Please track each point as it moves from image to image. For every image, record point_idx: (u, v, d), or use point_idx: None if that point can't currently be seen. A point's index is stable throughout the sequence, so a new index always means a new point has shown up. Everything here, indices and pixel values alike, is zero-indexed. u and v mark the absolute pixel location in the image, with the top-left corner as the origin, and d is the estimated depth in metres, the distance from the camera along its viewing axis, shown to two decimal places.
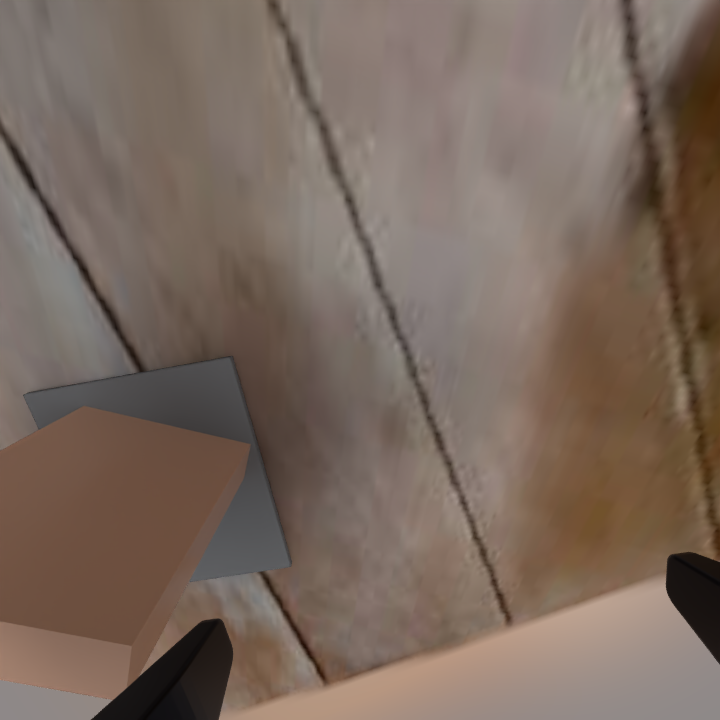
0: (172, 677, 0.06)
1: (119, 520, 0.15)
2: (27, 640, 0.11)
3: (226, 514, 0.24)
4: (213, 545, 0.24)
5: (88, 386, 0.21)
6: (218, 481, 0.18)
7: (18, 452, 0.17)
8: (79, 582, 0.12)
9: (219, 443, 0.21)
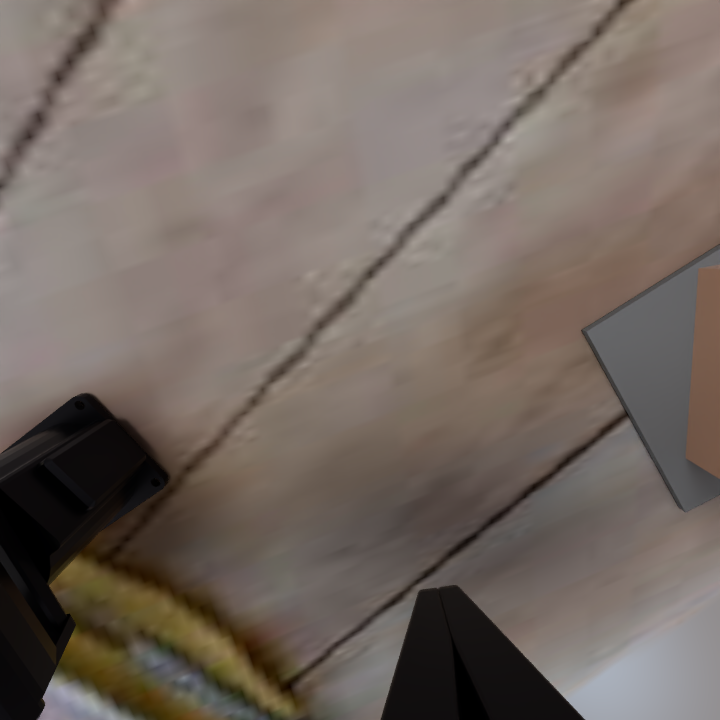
0: (445, 641, 0.06)
1: None
2: None
3: None
4: None
5: (660, 458, 0.19)
6: None
7: None
8: None
9: (708, 305, 0.17)
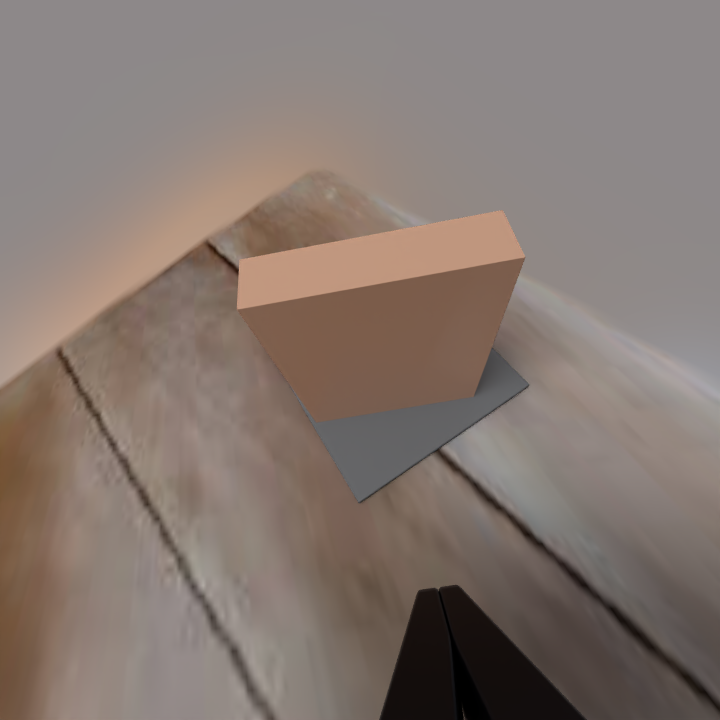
0: (444, 641, 0.06)
1: (344, 355, 0.16)
2: (319, 282, 0.13)
3: None
4: None
5: (476, 417, 0.22)
6: (307, 396, 0.20)
7: (474, 359, 0.18)
8: (320, 321, 0.14)
9: (340, 414, 0.22)
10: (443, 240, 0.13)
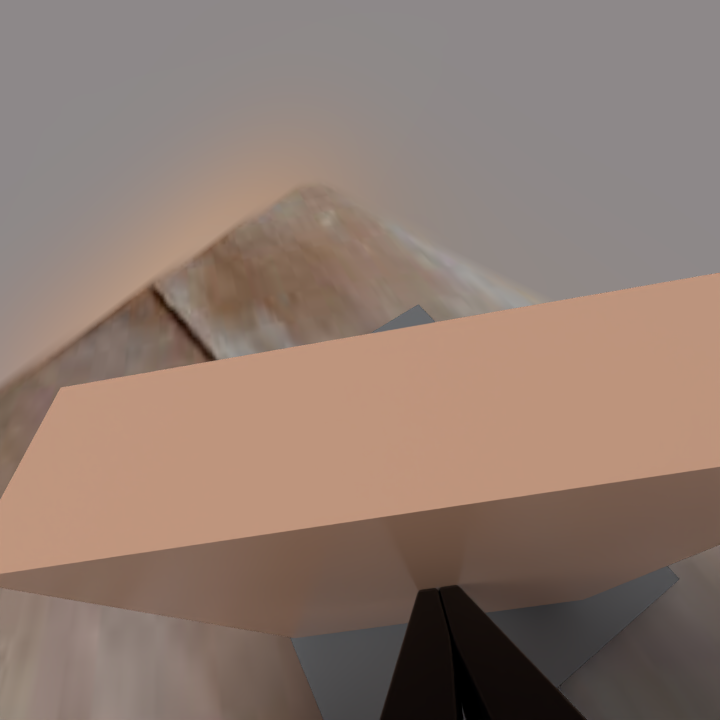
0: (444, 641, 0.06)
1: (340, 596, 0.07)
2: (249, 481, 0.04)
3: None
4: None
5: (590, 648, 0.12)
6: (269, 628, 0.10)
7: (623, 575, 0.08)
8: (264, 572, 0.05)
9: (337, 631, 0.12)
10: (642, 346, 0.04)
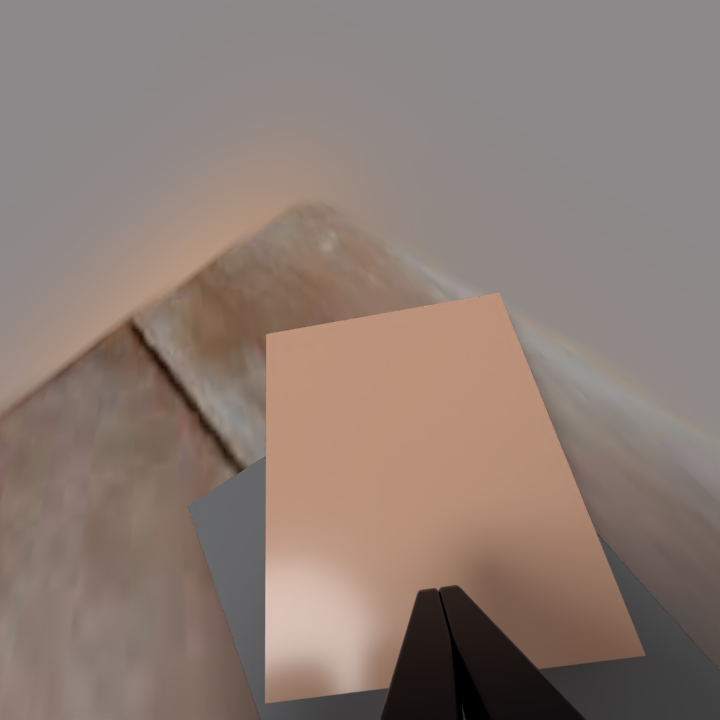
0: (444, 641, 0.06)
1: (348, 417, 0.13)
2: None
3: None
4: None
5: None
6: (279, 536, 0.12)
7: (545, 461, 0.12)
8: (329, 354, 0.15)
9: (324, 665, 0.10)
10: None
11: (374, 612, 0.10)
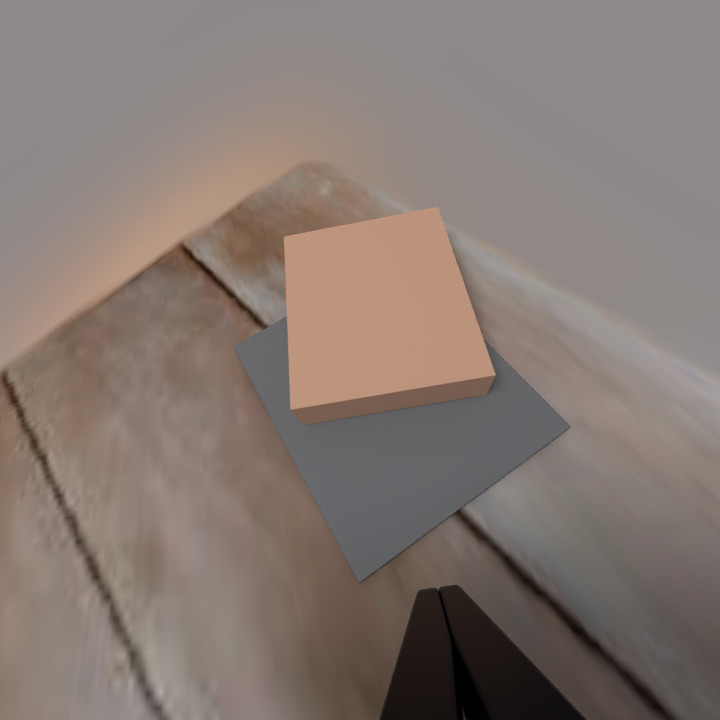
0: (444, 641, 0.06)
1: (337, 278, 0.21)
2: None
3: None
4: None
5: (506, 469, 0.18)
6: (296, 339, 0.20)
7: (454, 294, 0.20)
8: (325, 246, 0.23)
9: (322, 392, 0.18)
10: None
11: (351, 368, 0.18)
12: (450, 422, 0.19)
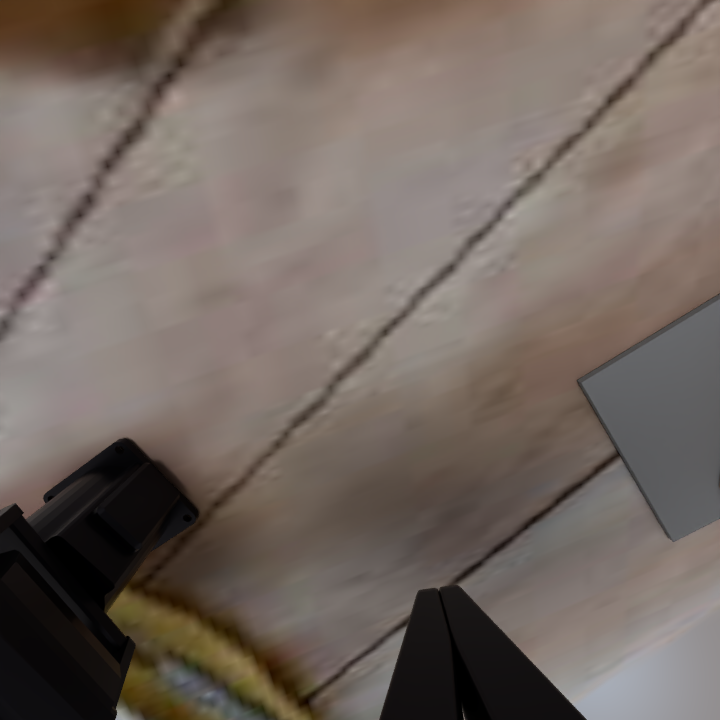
0: (444, 641, 0.06)
1: None
2: None
3: None
4: None
5: (649, 494, 0.21)
6: None
7: None
8: None
9: None
10: None
11: None
12: (700, 456, 0.21)
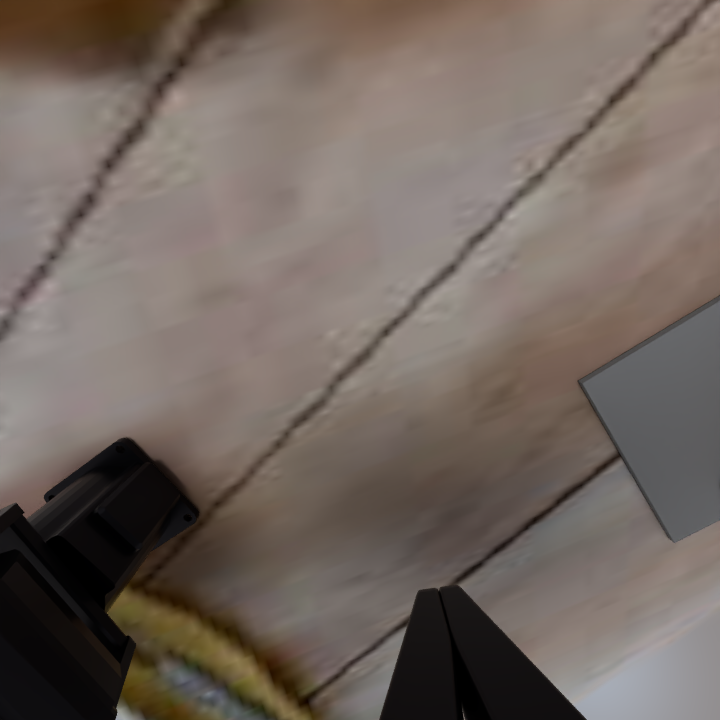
0: (444, 641, 0.06)
1: None
2: None
3: None
4: None
5: (650, 495, 0.21)
6: None
7: None
8: None
9: None
10: None
11: None
12: (701, 457, 0.21)
